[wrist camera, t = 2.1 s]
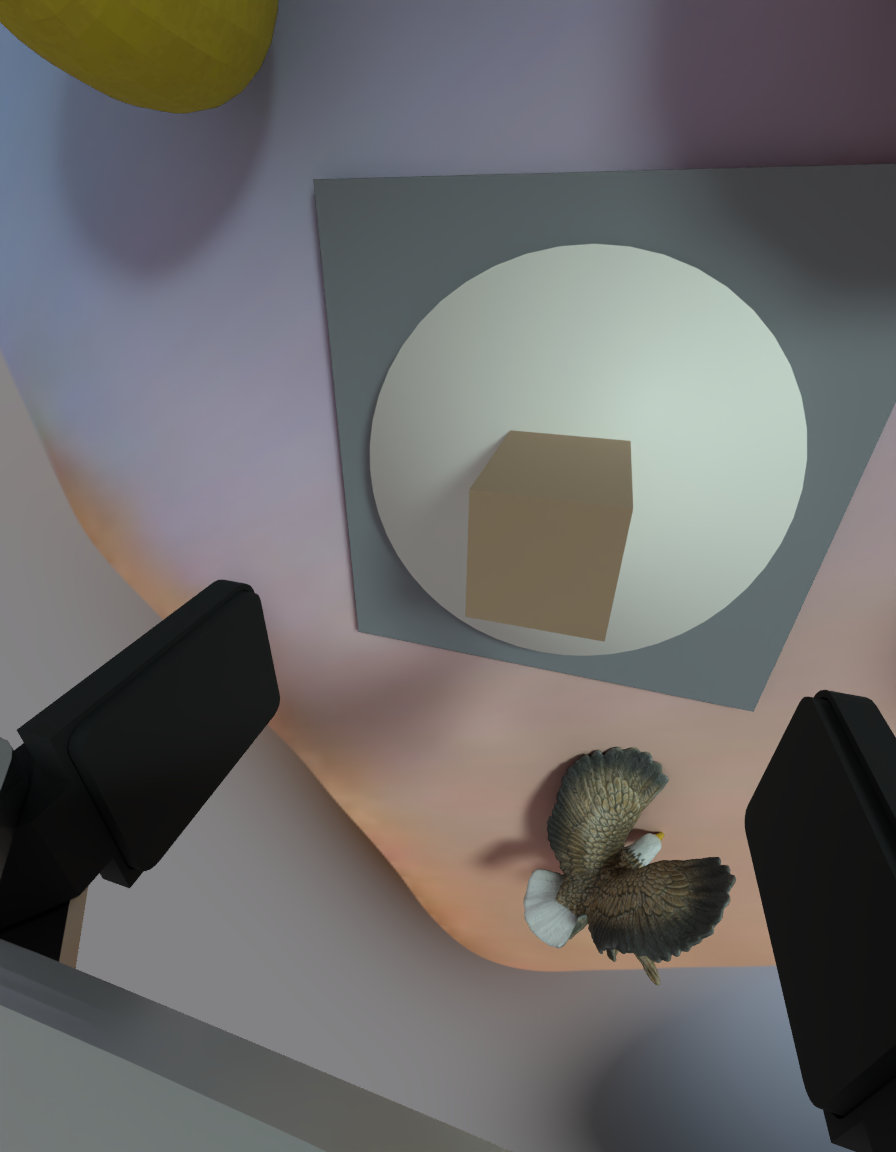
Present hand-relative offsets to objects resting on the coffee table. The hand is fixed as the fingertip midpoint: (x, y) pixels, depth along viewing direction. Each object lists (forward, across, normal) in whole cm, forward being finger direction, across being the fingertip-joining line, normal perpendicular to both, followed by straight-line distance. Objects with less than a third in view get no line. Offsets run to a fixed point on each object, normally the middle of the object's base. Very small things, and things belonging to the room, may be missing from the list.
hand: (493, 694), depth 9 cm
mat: (+10, 0, -1) cm, 10 cm away
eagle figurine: (+11, -5, +16) cm, 20 cm away
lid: (+10, 0, -1) cm, 10 cm away
